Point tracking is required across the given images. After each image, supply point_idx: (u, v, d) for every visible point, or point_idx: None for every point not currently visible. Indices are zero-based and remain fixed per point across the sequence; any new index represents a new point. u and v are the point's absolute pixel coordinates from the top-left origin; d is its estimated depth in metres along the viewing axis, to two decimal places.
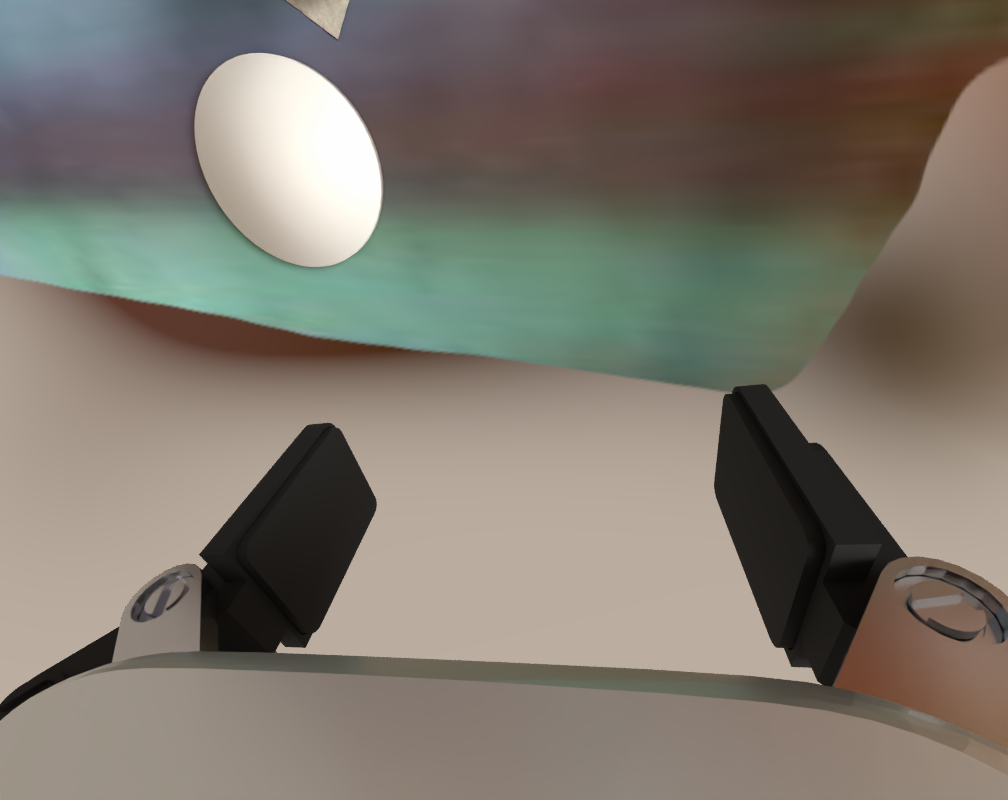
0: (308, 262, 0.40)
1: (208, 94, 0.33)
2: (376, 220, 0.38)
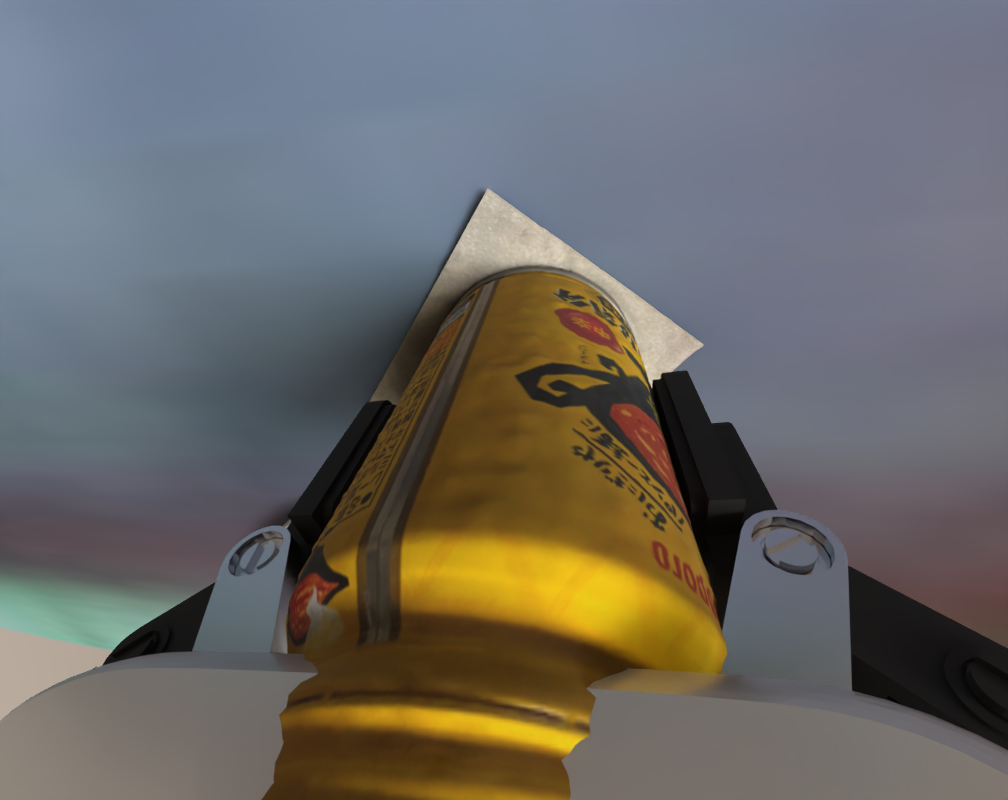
0: None
1: None
2: None
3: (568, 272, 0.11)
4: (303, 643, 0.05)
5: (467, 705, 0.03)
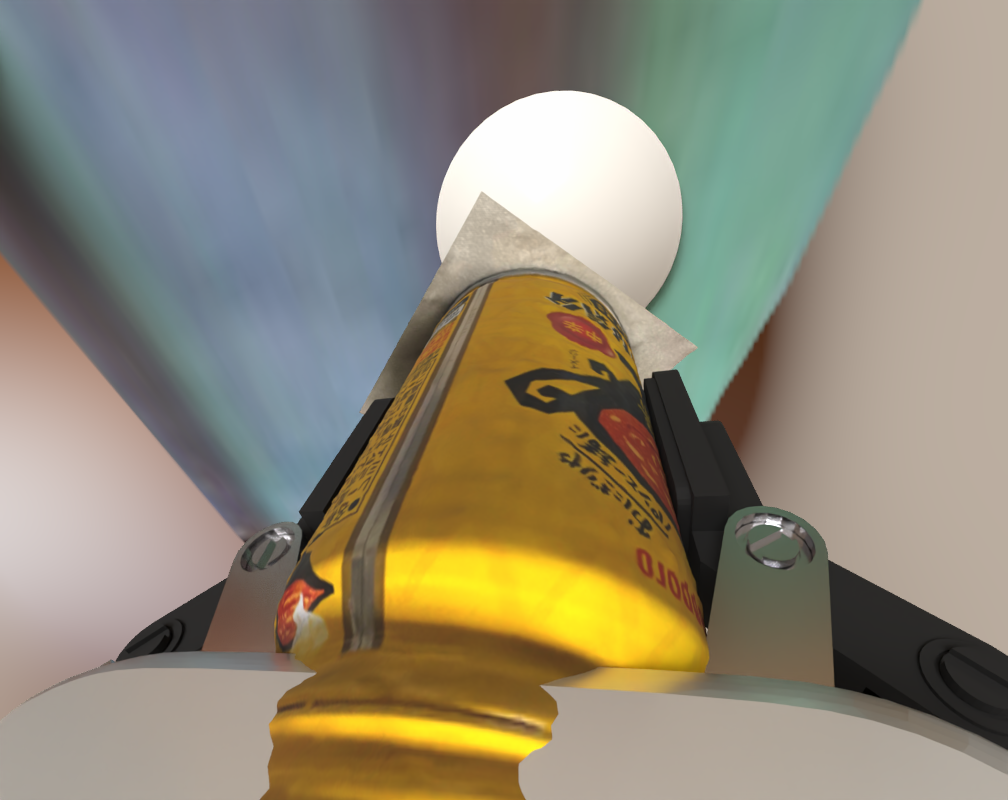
0: (671, 248, 0.27)
1: None
2: (628, 110, 0.24)
3: (562, 274, 0.11)
4: (289, 649, 0.05)
5: (444, 714, 0.03)
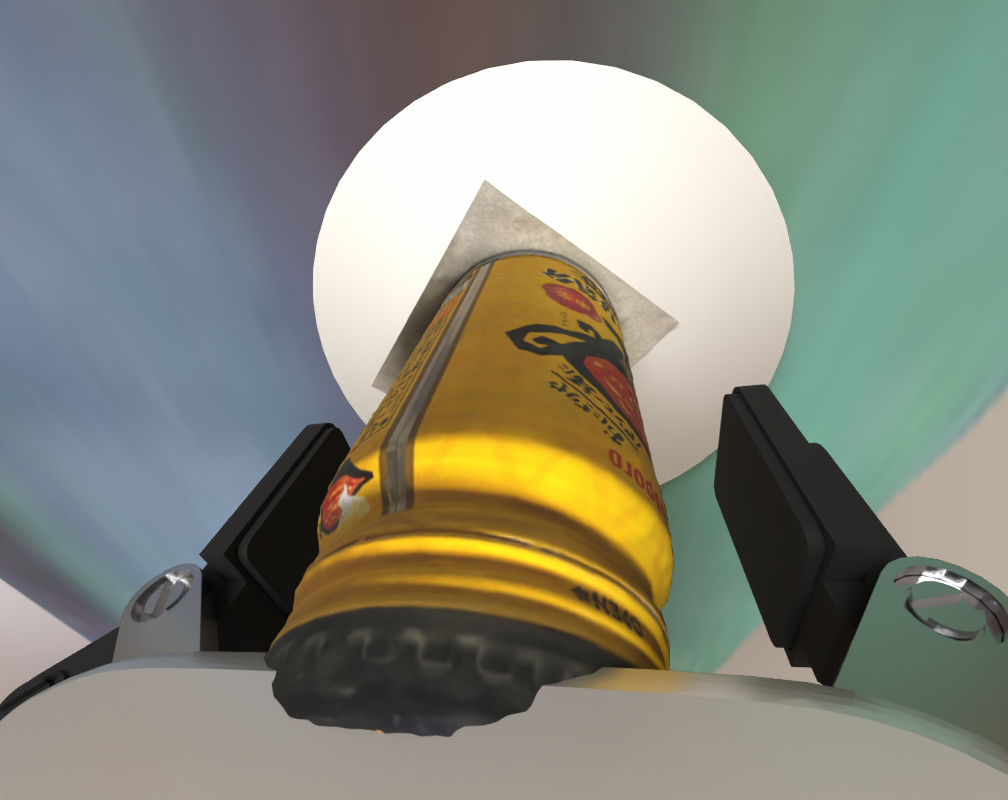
0: (761, 373, 0.14)
1: None
2: None
3: (556, 255, 0.13)
4: (336, 528, 0.06)
5: (463, 535, 0.05)
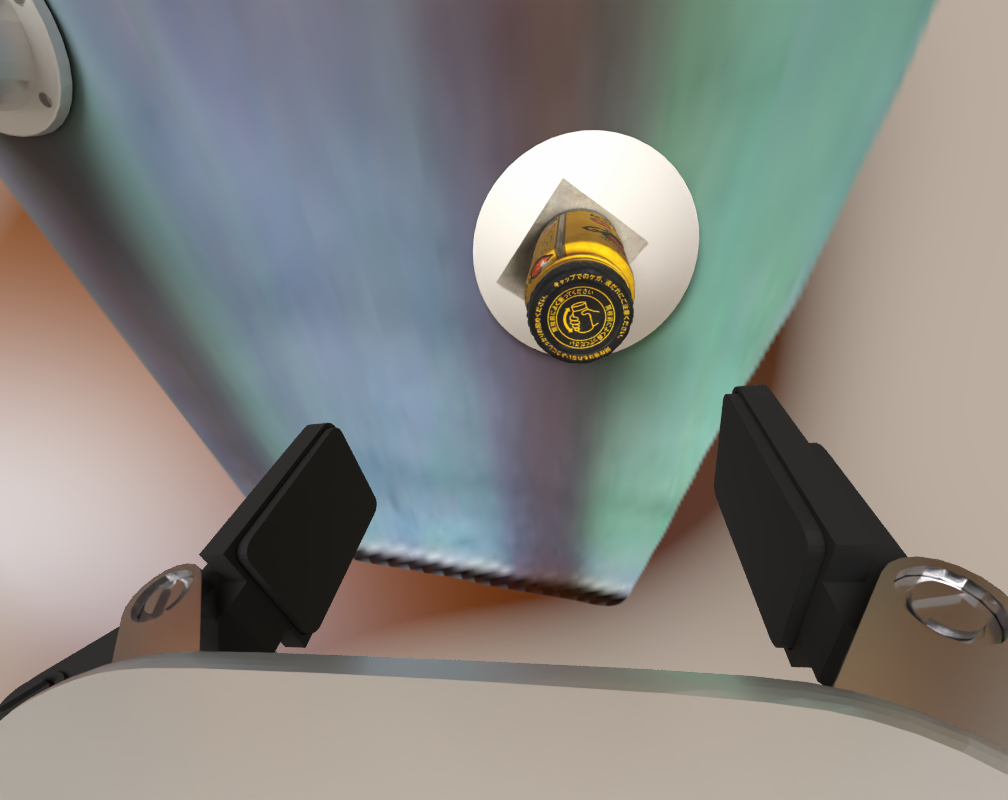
0: (688, 268, 0.30)
1: (506, 322, 0.34)
2: None
3: (592, 210, 0.28)
4: (540, 272, 0.22)
5: (583, 254, 0.20)
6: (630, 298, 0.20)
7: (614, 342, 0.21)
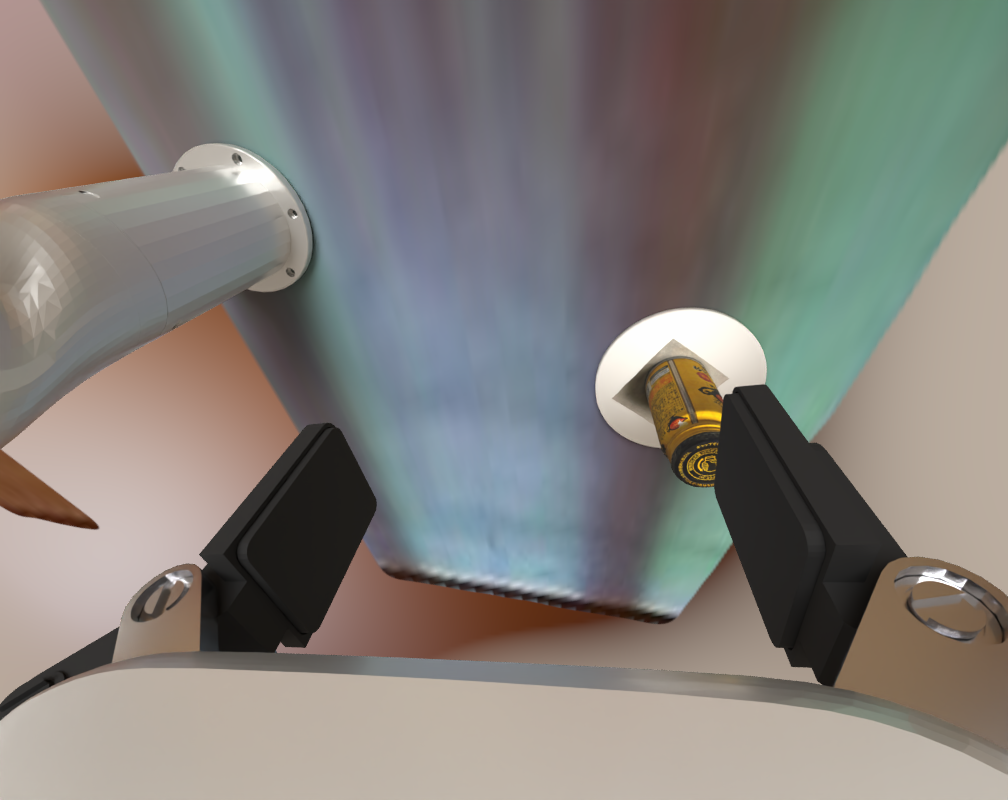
0: None
1: (613, 423, 0.45)
2: (737, 321, 0.38)
3: (691, 358, 0.40)
4: (678, 428, 0.33)
5: (712, 424, 0.32)
6: None
7: None
